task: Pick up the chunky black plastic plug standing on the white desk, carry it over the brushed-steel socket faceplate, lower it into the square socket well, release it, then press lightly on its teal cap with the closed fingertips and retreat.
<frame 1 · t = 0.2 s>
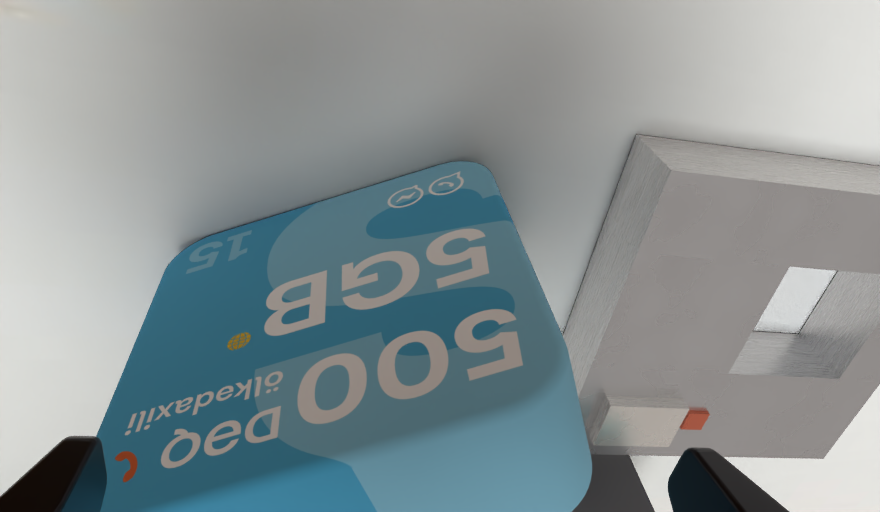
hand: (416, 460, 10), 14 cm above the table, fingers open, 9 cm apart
plug: (571, 458, 33), on the table
faceplate: (725, 298, 28), on the table
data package: (346, 243, 24), on the table
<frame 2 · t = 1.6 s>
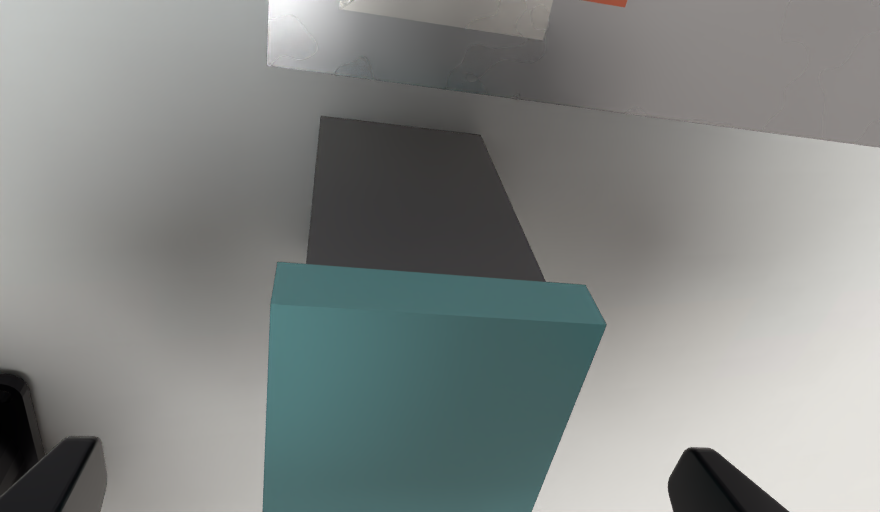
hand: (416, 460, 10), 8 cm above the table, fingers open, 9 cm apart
plug: (391, 196, 17), on the table
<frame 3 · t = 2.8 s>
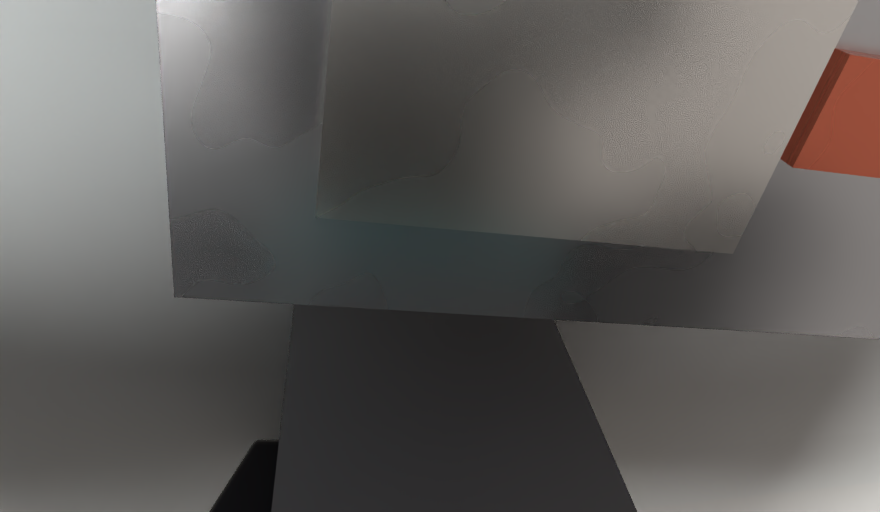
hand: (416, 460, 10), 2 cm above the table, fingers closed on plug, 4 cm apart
plug: (407, 387, 11), on the table, touching gripper
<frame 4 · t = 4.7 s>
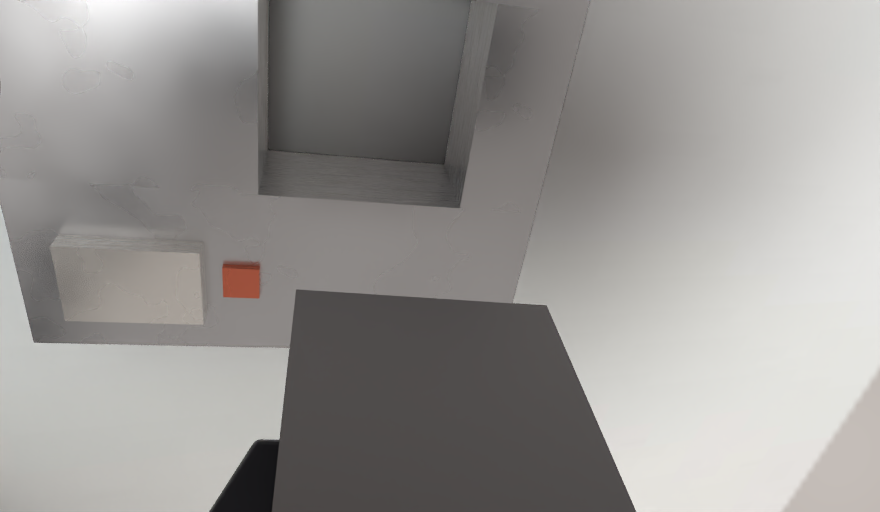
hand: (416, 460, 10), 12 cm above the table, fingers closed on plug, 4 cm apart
plug: (407, 389, 11), point 11 cm above the table, touching gripper
faceplate: (294, 96, 18), on the table
when the fingers open (3 cm above the table, at t = 6.4 s): plug drops 2 cm, resting in faceplate.
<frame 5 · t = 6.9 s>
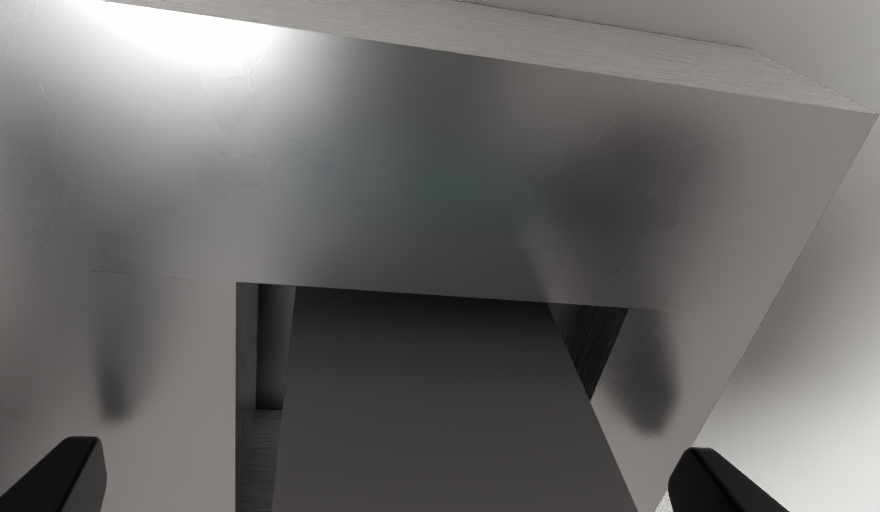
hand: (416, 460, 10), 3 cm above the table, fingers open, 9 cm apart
plug: (399, 315, 13), resting in faceplate
faceplate: (295, 349, 13), on the table
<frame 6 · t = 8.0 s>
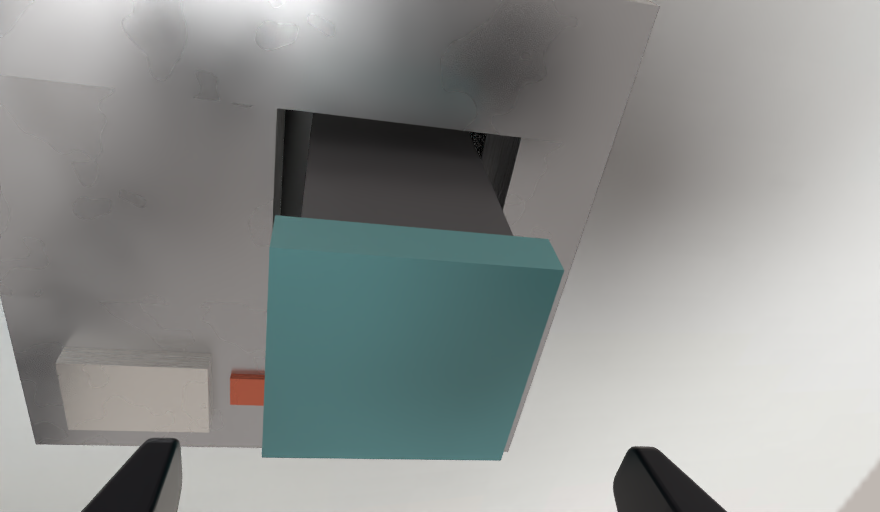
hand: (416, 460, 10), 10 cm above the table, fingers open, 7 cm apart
plug: (381, 175, 18), resting in faceplate
faceplate: (308, 199, 18), on the table
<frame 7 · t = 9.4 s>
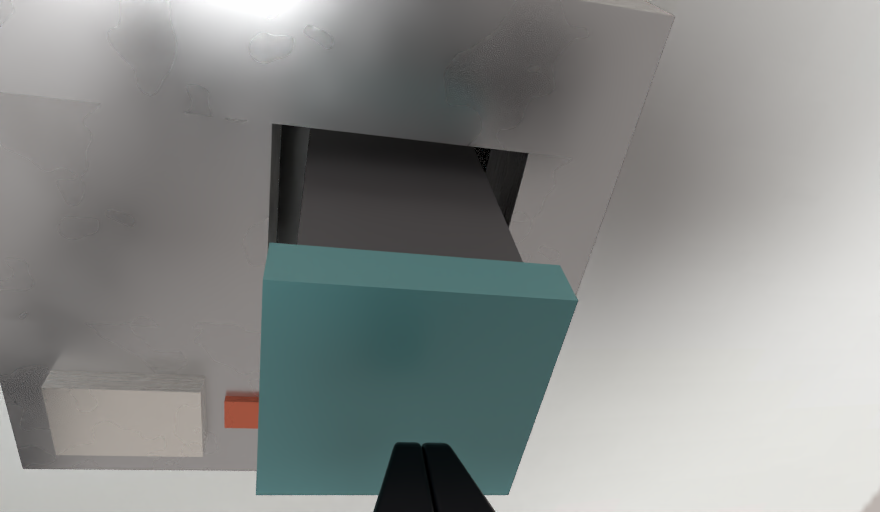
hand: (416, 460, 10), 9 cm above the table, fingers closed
plug: (381, 189, 17), resting in faceplate
faceplate: (305, 214, 17), on the table
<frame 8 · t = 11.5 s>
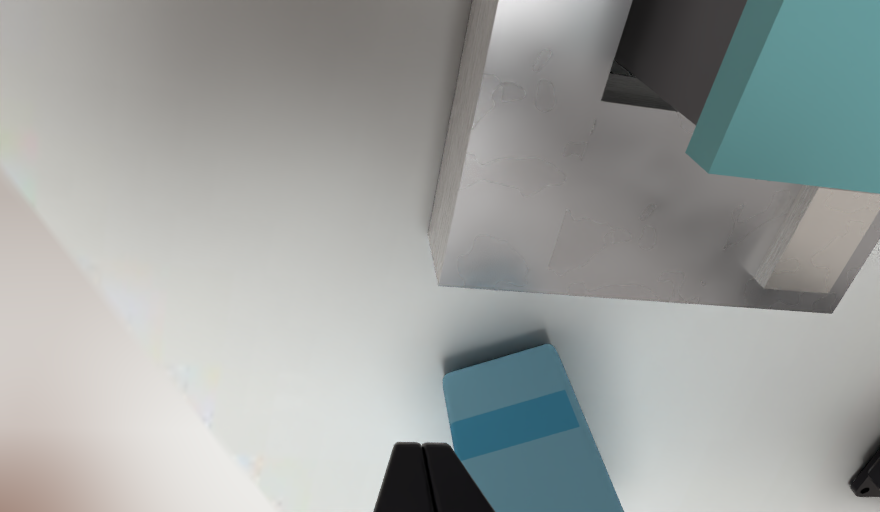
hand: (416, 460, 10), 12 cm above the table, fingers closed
faceplate: (688, 59, 19), on the table
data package: (520, 433, 28), on the table
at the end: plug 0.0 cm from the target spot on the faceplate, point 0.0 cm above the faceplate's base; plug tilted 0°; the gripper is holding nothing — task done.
